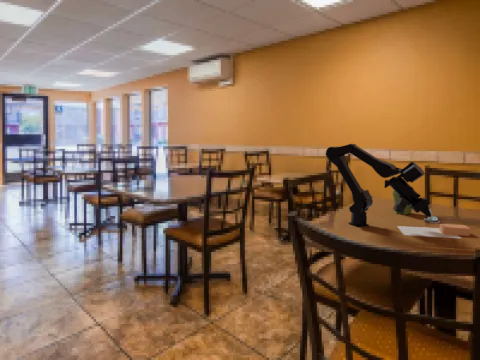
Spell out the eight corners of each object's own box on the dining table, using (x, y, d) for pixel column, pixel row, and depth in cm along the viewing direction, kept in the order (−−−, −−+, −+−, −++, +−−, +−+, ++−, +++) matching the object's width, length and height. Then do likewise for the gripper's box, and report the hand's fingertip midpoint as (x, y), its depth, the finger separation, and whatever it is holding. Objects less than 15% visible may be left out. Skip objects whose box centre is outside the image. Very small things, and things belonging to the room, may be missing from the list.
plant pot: (409, 210, 175) (411, 190, 173) (419, 216, 163) (421, 194, 162) (387, 210, 176) (388, 190, 175) (395, 215, 164) (396, 193, 163)
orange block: (444, 227, 130) (470, 228, 127) (439, 223, 135) (464, 225, 133) (443, 234, 130) (469, 235, 128) (439, 230, 135) (463, 232, 133)
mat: (403, 235, 130) (404, 234, 130) (396, 226, 143) (396, 225, 143) (461, 239, 125) (462, 238, 125) (448, 229, 138) (448, 228, 138)
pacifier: (442, 222, 151) (428, 220, 155) (444, 209, 150) (430, 207, 154) (436, 225, 146) (422, 222, 151) (437, 212, 145) (423, 209, 150)
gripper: (383, 197, 145) (408, 223, 144) (391, 206, 127) (420, 235, 126) (403, 180, 142) (429, 206, 141) (415, 187, 124) (444, 217, 123)
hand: (430, 216), depth 133 cm, fingers closed
